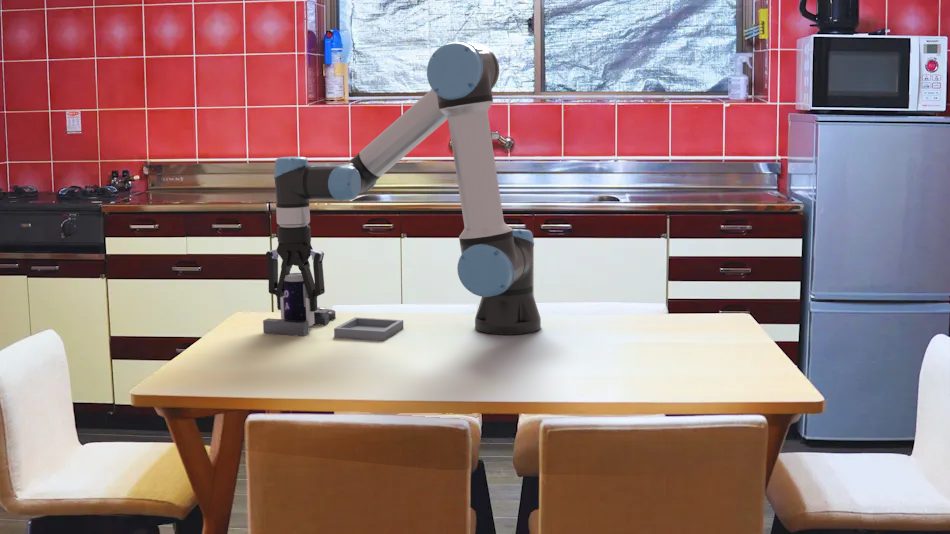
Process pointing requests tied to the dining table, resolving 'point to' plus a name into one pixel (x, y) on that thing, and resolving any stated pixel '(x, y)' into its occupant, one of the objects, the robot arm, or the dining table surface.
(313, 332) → the dining table surface
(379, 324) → the tray
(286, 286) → the beverage can
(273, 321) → the rails
